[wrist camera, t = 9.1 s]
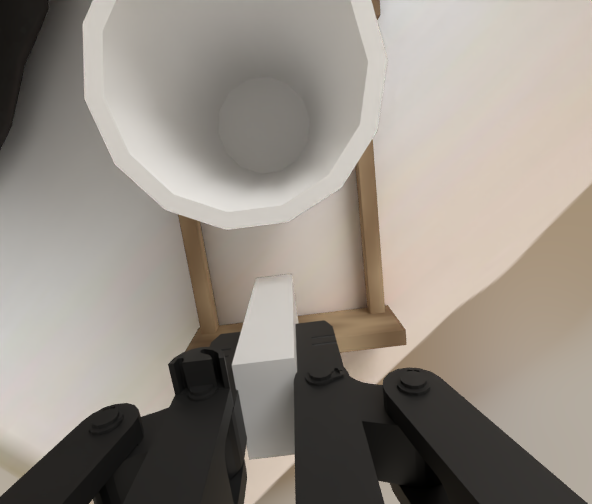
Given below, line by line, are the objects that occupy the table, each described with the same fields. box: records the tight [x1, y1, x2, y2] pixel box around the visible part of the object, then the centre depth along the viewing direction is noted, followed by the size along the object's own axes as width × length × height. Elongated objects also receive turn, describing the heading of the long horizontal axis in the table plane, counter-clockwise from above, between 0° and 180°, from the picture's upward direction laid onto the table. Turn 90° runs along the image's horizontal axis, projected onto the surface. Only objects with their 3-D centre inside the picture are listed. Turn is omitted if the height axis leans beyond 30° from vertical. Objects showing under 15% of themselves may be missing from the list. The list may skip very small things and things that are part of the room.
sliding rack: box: [178, 0, 406, 353], centre depth 22 cm, size 14×20×4 cm
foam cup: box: [82, 0, 388, 230], centre depth 17 cm, size 10×9×13 cm
